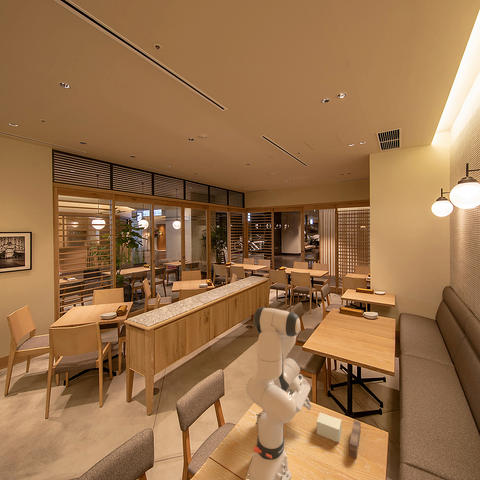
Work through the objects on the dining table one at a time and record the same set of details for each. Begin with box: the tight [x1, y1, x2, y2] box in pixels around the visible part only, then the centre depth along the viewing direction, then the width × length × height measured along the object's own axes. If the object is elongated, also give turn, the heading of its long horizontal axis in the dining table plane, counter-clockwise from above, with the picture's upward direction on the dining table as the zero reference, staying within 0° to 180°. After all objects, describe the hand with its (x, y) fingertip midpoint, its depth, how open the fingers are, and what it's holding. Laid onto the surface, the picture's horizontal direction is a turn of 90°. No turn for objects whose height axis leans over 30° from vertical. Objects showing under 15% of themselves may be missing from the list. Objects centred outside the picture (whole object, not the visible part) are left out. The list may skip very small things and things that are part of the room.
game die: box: [255, 409, 265, 425], centre depth 134 cm, size 9×8×10 cm
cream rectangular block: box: [316, 412, 342, 443], centre depth 129 cm, size 7×11×7 cm, turn 59°
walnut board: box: [349, 419, 362, 459], centre depth 122 cm, size 16×3×6 cm, turn 148°
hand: (310, 407), depth 134 cm, fingers closed
